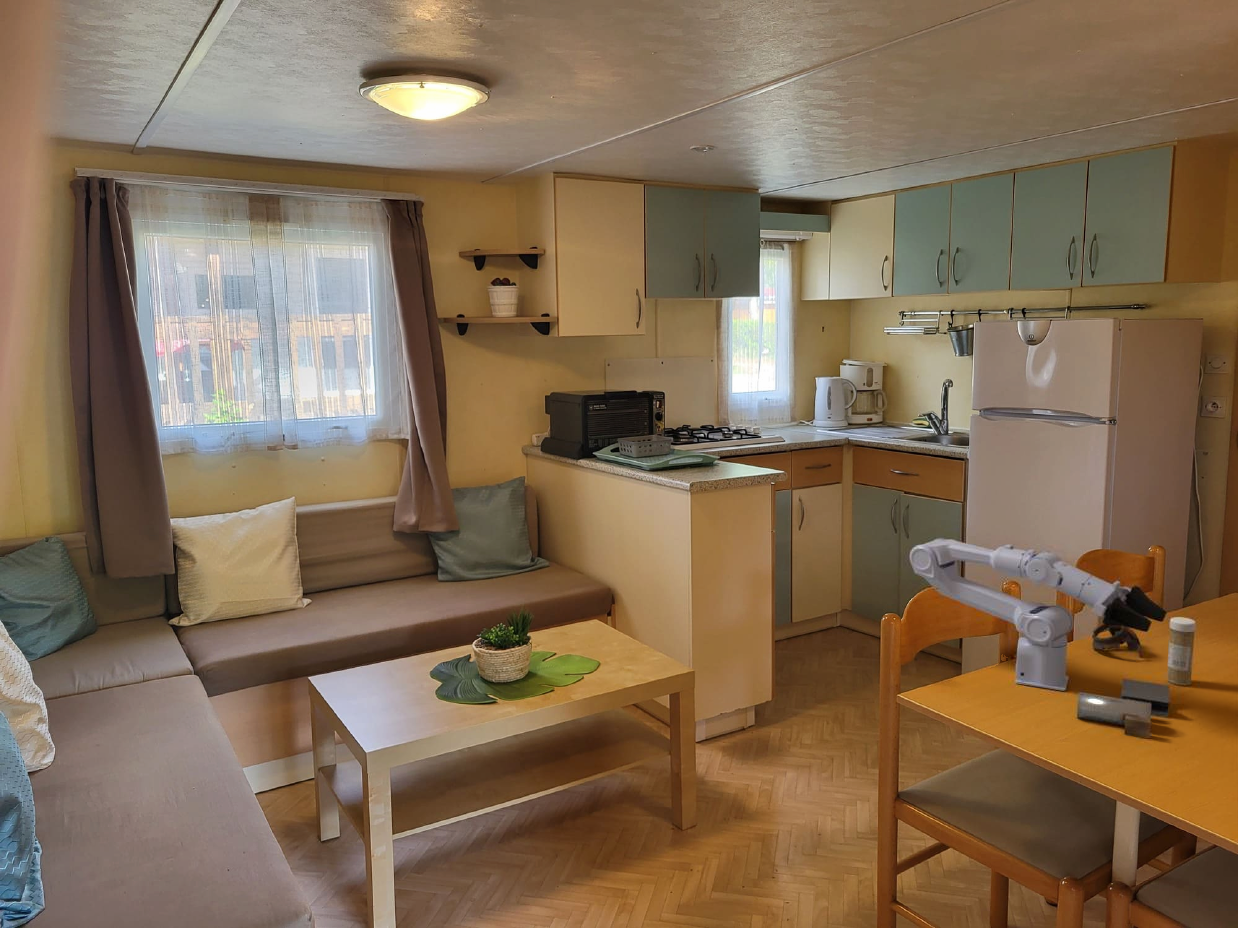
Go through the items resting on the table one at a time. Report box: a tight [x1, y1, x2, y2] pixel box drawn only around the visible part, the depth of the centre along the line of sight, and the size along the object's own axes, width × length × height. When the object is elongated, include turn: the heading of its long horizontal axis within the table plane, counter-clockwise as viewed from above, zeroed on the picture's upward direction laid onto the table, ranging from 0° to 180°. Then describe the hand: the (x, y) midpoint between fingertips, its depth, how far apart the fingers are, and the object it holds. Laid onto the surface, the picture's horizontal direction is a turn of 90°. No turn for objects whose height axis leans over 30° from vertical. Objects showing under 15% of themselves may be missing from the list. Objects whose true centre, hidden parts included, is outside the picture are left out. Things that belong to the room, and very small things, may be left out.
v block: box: [1120, 678, 1170, 718], centre depth 181 cm, size 8×8×4 cm
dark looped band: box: [1091, 622, 1143, 659], centre depth 210 cm, size 12×10×8 cm
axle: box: [1076, 691, 1152, 727], centre depth 175 cm, size 12×5×5 cm, turn 60°
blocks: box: [1123, 699, 1152, 740], centre depth 173 cm, size 4×10×3 cm, turn 150°
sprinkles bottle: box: [1166, 616, 1197, 687], centre depth 191 cm, size 5×5×14 cm
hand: (1156, 621), depth 176 cm, fingers open, 7 cm apart
